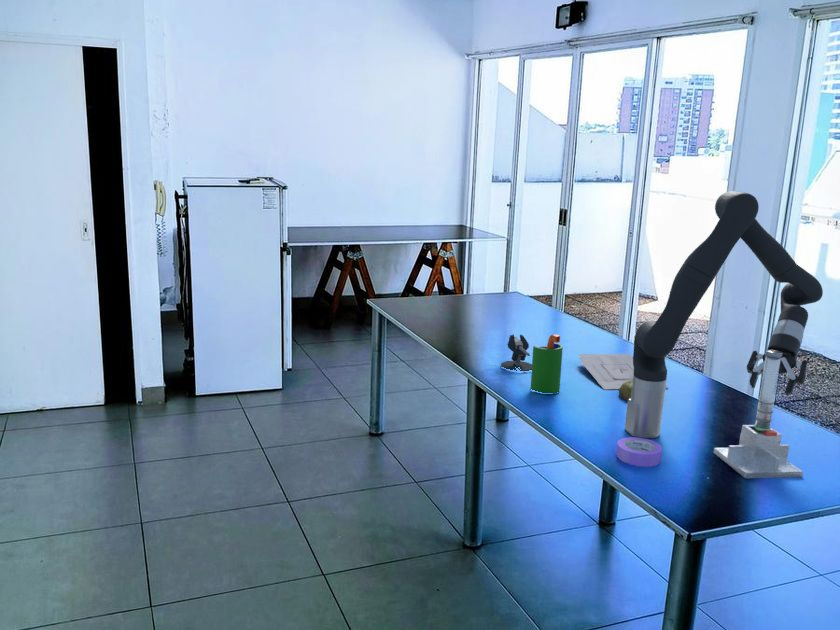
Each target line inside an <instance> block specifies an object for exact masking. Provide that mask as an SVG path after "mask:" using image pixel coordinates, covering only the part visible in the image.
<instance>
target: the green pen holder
mask: <svg viewBox="0 0 840 630" xmlns="http://www.w3.org/2000/svg"><path fill="white" fill-rule="evenodd" d="M560 341H561V335H559V334H556V333H555V334H550V335H549V338H548V340H547V345H546V346H536V345H533V346H532V357H531V358H532V361H531V364H532V372H531V377H530V379H531V380H530V390H531V389H532V390H535V391H538V392H542V393H557V392H559V393H560V391H561V390H560V389H561V377H562V376H561V375H562V364H563V363H562V362H563V361H562V360H563V349H564V348H563V347H564V346H563V345H562V344H560ZM559 390H560V391H559ZM557 394H558V393H557Z"/></svg>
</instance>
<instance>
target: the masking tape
mask: <svg viewBox="0 0 840 630" xmlns="http://www.w3.org/2000/svg"><path fill="white" fill-rule="evenodd" d="M616 445H617V447H616V453H615V454H616V455H617V456H616V455H615V456H616V457H618V458H619V459H618V460H619V461H622V462H623V463H625V462H626V463H625V464H627V463H628V465H631V466H634V465H635V466H634V467H641V468H642V467H643V468H644V467H645V468H652V467H656V466H658V465H660V464H661V462H662V454H663V452H662V451H663V448H662V446H661V445H660V444H659V443H658V442H657V441H654V440H650V439H649V438H642V437H637V436H629V437H623V438H621V439H619V440H618V441H617V444H616Z"/></svg>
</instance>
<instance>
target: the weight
mask: <svg viewBox="0 0 840 630" xmlns="http://www.w3.org/2000/svg"><path fill="white" fill-rule="evenodd" d="M632 384H633V380H632V381H627V382H625V383H623V384H622V386H621V387H620V389H618V394H619V397H620V398H621V399H624V400H625V401H627V402H628V399H631V392H632Z"/></svg>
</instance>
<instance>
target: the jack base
mask: <svg viewBox="0 0 840 630" xmlns="http://www.w3.org/2000/svg"><path fill="white" fill-rule="evenodd" d="M782 435H783V434H782V433H781V432H778V431H777V430H776V429H774V428H772V427H771V426H770V430H763V434H758V433H757V432H755V431H754V424H742V425H741V432H740V435H739V442H738V444H737V445H733V444H732V445H731V444H730V445H728V447H714V448H713V454H714V455H716V456H717V457H718V458H720V459H721V461H724V463H726V464H727V465H728V466H729V467H731V468H732V469H733V470H734V471H735V472H736V473H738V474H739V475H741V477H742V478H744V479H764V478H766V479H772V478H778V479H779V478H803V473H804V472H803V470H802V469H800V468H799V467H797V466H796V465H794V464H793V463H791V462H790V461H789V460H788V456H789V451H790V445H789V444H788V443H787V444H782V443H781V442H782Z"/></svg>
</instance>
